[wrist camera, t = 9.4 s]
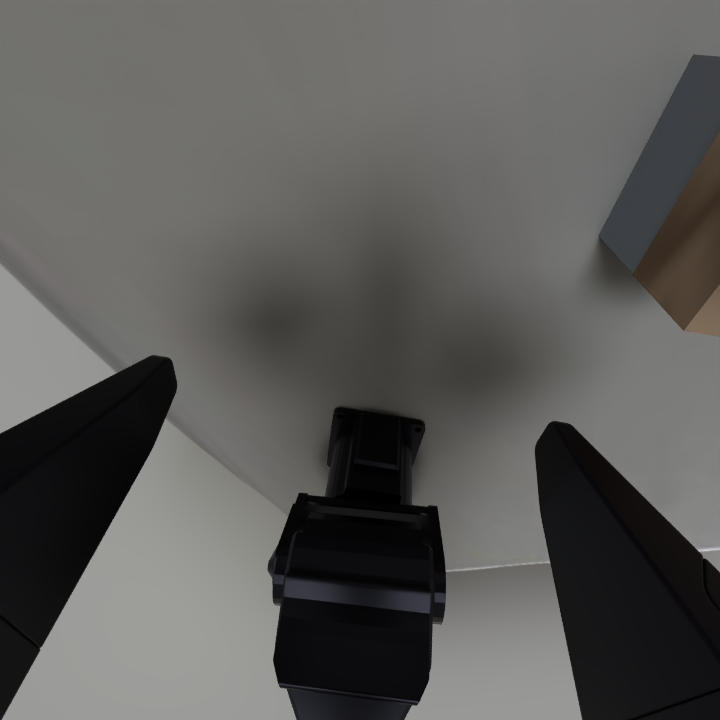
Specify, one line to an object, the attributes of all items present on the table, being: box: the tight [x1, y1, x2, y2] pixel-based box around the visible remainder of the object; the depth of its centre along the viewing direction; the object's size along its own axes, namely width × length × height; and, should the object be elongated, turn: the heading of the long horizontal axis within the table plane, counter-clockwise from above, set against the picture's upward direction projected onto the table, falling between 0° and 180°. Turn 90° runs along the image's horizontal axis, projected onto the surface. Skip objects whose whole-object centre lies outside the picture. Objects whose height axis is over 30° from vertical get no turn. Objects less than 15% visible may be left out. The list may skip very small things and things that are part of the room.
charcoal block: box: [599, 55, 720, 273], centre depth 16 cm, size 7×4×4 cm, turn 173°
